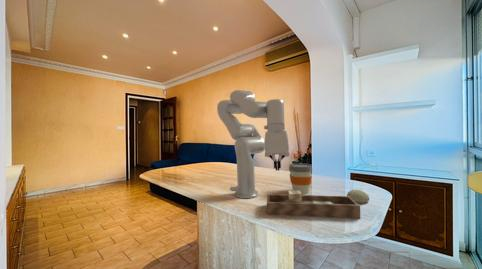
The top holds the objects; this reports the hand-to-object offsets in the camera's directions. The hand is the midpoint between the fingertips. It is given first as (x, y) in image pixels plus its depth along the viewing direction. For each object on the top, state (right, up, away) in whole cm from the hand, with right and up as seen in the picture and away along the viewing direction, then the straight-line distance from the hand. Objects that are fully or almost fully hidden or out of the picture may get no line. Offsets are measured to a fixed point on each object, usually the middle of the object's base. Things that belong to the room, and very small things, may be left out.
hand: (277, 169), depth 87 cm
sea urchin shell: (+41, -17, +9) cm, 45 cm away
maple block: (+8, -15, -1) cm, 16 cm away
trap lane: (+14, -17, -1) cm, 22 cm away
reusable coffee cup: (+18, -17, +25) cm, 35 cm away
